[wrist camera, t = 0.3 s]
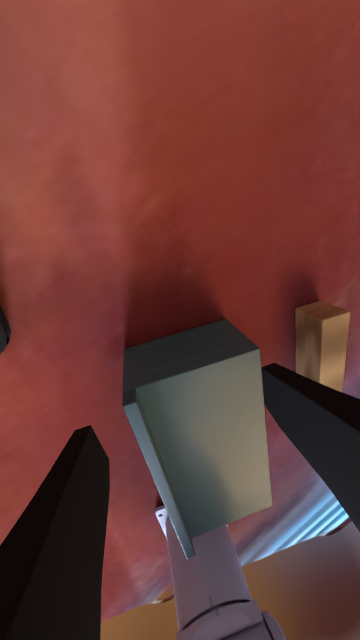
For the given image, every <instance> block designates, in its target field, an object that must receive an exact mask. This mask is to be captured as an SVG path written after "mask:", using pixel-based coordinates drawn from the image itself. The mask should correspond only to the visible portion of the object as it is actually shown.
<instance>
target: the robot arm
mask: <svg viewBox="0 0 360 640" xmlns="http://www.w3.org/2000/svg"><path fill="white" fill-rule="evenodd" d="M261 371H262V382H263V393H264V404H265V405H266V407H267V409H268V410H269V412H270V413H271V415H272V416H273V418H274V419H275V421H276V422H277V424H278V425H279V427H280V428H281V429H282V431H283V432H284V433H285V434H286V436H287V437H288V438H289V439H290V440H291V442H292V443H293V444H294V445H295V447H296V448H297V449H298V450H299V451H300V453H301V454H302V455H303V456H304V458H305V459H306V460H307V461H308V462H309V464H310V465H311V466H312V467H313V468H314V470H315V471H316V472H317V473H318V475H319V476H320V477H321V478H322V480H323V481H324V482H325V483H326V485H327V486H328V487H329V489H330V490H331V491H332V493H333V494H334V495H335V497H336V498H337V500H338V501H339V503H340V504H341V506H342V507H343V508H344V510H345V511H346V513H347V514H348V516H349V517H350V518H351V520H352V521H353V523H354V524H355V526H356V527H357V529H358V530H359V532H360V399H358V398H355V397H353V396H350V395H347V394H345V393H342V392H340V391H337V390H335V389H332V388H330V387H328V386H325V385H323V384H321V383H318V382H316V381H314V380H311V379H309V378H307V377H305V376H302V375H300V374H298V373H296V372H294V371H291V370H289V369H287V368H285V367H282V366H280V365H278V364H275V363H273V364H270V365H267V366H264V367H261ZM109 490H110V475H109V459H108V457H107V455H106V453H105V451H104V449H103V447H102V446H101V444H100V442H99V440H98V438H97V436H96V434H95V432H94V430H93V429H92V427H91V425H90V426H87V427H84V428H81V429H78V430H75V431H74V433H73V434H72V436H71V437H70V439H69V441H68V442H67V444H66V446H65V447H64V449H63V450H62V452H61V454H60V455H59V457H58V459H57V460H56V462H55V464H54V465H53V467H52V468H51V470H50V472H49V473H48V475H47V476H46V478H45V480H44V481H43V483H42V484H41V486H40V488H39V489H38V491H37V492H36V494H35V495H34V497H33V498H32V500H31V501H30V503H29V504H28V506H27V507H26V509H25V510H24V512H23V513H22V515H21V516H20V518H19V519H18V521H17V522H16V524H15V525H14V527H13V528H12V530H11V531H10V533H9V534H8V535H7V537H6V538H5V540H4V541H3V542H2V544H1V545H0V640H100V624H101V584H102V568H103V557H104V546H105V536H106V525H107V514H108V503H109ZM155 514H156V516H157V519H158V521H159V523H160V525H161V527H162V529H163V532H164V534H165V536H166V538H167V544H168V552H169V560H170V567H171V575H172V582H173V590H174V598H175V605H176V613H177V620H178V628H179V632H178V633H177V634H176V635H177V640H286V638H285V635H284V633H283V631H282V629H281V627H280V625H279V624H278V622H277V620H276V619H275V618H274V617H272V616H271V615H270V614H269V613H268V612H267V611H266V610H265V611H262V612H260V609H259V606H258V603H257V600H256V599H255V600H252V597H251V594H250V591H249V588H248V585H247V582H246V579H245V577H244V574H243V571H242V568H241V565H240V562H239V559H238V556H237V553H236V550H235V547H234V544H233V541H232V538H231V536H230V533H229V530H228V524H226V525H224V526H221V527H219V528H216V529H214V530H211V531H209V532H207V533H204V534H202V535H199V536H197V537H194V538H192V542H193V546H194V551H195V556H194V557H191V558H189V559H187V558H186V556H185V553H184V551H183V549H182V546H181V544H180V542H179V539H178V537H177V534H176V532H175V530H174V527H173V525H172V523H171V520H170V518H169V515H168V513H167V511H166V508H165V506H164V505H162V506H159V507H157V508H156V509H155Z"/></svg>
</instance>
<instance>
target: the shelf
mask: <svg viewBox="0 0 360 640" xmlns="http://www.w3.org/2000/svg"><path fill="white" fill-rule="evenodd" d="M123 409H124V411H125V413H126V416H127V418H128V420H129V423H130V425H131V428H132V430H133V432H134V435H135V437H136V439H137V442H138V444H139V447H140V449H141V451H142V454H143V456H144V458H145V461H146V463H147V466H148V468H149V470H150V473H151V475H152V477H153V480H154V482H155V485H156V487H157V489H158V492H159V494H160V496H161V499H162V501H163V504H164V506H165V508H166V511H167V513H168V515H169V518H170V520H171V523H172V525H173V527H174V530H175V532H176V534H177V537H178V539H179V542H180V544H181V546H182V549H183V551H184V553H185V556H186V558H187V559H189V558H191V557H194V556H195V551H194V546H193V542H192V538H194V537H197V536H199V535H202V534H204V533H207V532H209V531H211V530H214V529H216V528H219V527H221V526H224V525H226V524H228V523H231V522H233V521H236V520H238V519H240V518H243V517H245V516H248V515H250V514H253V513H255V512H257V511H260V510H262V509H265V508H267V507H269V506H272V495H271V483H270V470H269V458H268V445H267V433H266V420H265V408H264V395H263V383H262V371H261V358H260V348H259V347H258V346H256V345H255V344H254V343H253V342H252V341H250V339H248V338H247V337H246V336H245V335H244V334H243V333H242V332H240V331H239V330H238V329H237V328H236V327H235V326H234V325H232V324H231V323H230V322H229V321H228V320H227V319H223V320H220V321H216V322H213V323H210V324H206V325H203V326H200V327H196V328H193V329H190V330H186V331H183V332H179V333H176V334H173V335H169V336H166V337H163V338H159V339H156V340H152V341H149V342H146V343H142V344H139V345H136V346H132V347H129V348H126V349H124V366H123Z"/></svg>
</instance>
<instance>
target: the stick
mask: <svg viewBox="0 0 360 640" xmlns="http://www.w3.org/2000/svg"><path fill="white" fill-rule="evenodd" d="M350 313H351V312H350V311H348V310H345V309H342V308H339V307H336V306H333V305H331V304H328V303H325V302H322V301H317V302H314V303H311V304H307V305H304V306H301V307H297V308H295V341H296V373H298V374H300V375H302V376H305V377H307V378H309V379H311V380H314V381H316V382H318V383H321V384H323V385H325V386H328V387H330V388H332V389H335V390H337V391H340V392H342V390H343V380H344V371H345V361H346V351H347V342H348V332H349V322H350Z"/></svg>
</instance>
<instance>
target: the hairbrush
mask: <svg viewBox="0 0 360 640" xmlns="http://www.w3.org/2000/svg"><path fill="white" fill-rule="evenodd" d="M10 333H11V329H10V326H9V324H8V322H7V320H6V317H5V315H4V313H3V311H2V308H1V306H0V354H1V353H2V352H3V351H4V350H5V348H6V346H7V344H8V342H9V340H10Z"/></svg>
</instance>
